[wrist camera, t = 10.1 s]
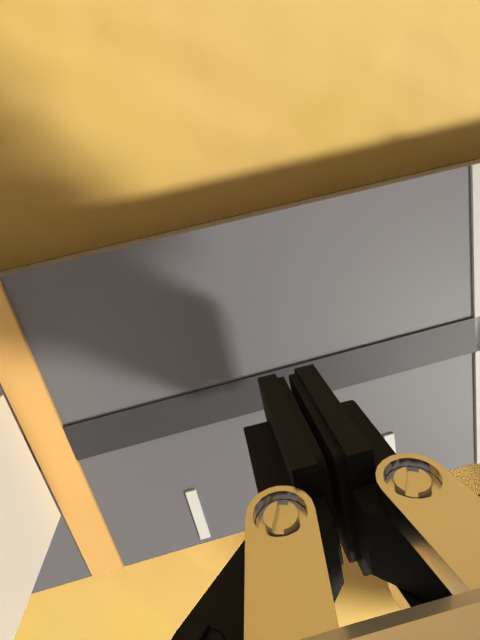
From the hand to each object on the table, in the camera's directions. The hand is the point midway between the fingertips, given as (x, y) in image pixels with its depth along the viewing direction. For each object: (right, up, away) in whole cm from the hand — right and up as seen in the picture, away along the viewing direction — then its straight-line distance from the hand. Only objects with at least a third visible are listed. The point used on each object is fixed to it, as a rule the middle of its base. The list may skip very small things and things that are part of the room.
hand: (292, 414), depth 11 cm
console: (-2, +1, +4) cm, 5 cm away
